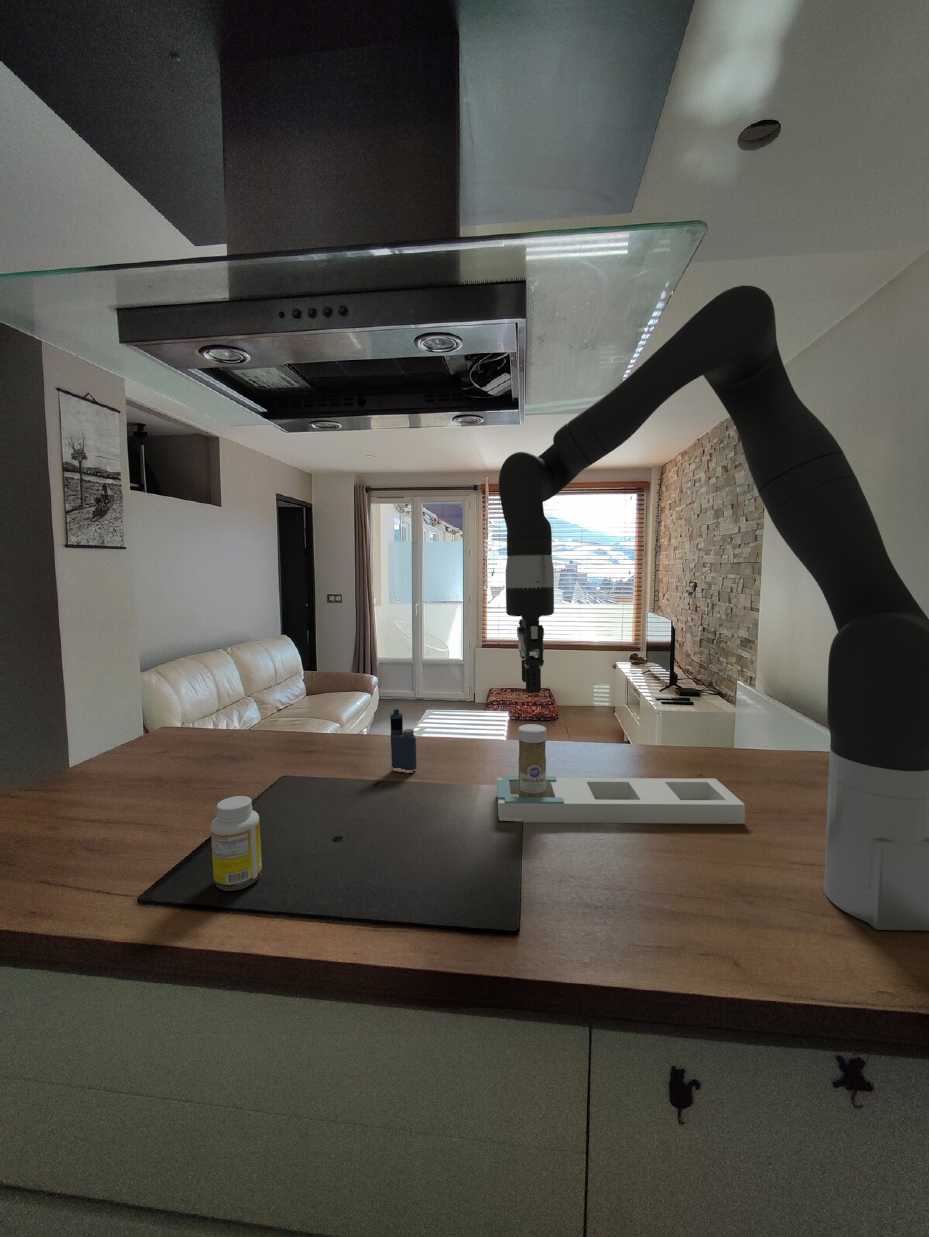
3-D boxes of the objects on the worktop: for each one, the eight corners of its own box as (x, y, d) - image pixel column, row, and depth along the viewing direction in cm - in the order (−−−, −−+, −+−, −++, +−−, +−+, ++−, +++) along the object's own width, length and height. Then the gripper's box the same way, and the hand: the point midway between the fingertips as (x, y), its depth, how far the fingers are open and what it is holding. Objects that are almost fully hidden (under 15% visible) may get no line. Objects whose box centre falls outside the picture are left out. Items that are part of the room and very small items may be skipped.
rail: (744, 823, 78) (745, 802, 77) (498, 822, 79) (498, 801, 79) (714, 795, 88) (715, 776, 87) (497, 794, 89) (496, 776, 89)
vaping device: (395, 766, 103) (394, 707, 102) (418, 770, 101) (417, 710, 100) (388, 771, 101) (387, 710, 100) (412, 774, 99) (411, 713, 98)
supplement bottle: (241, 864, 68) (237, 789, 67) (271, 875, 66) (268, 797, 65) (203, 887, 63) (199, 806, 63) (234, 899, 61) (230, 816, 60)
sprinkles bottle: (525, 816, 81) (524, 732, 80) (514, 804, 85) (513, 724, 84) (551, 812, 82) (551, 729, 81) (539, 800, 87) (538, 722, 86)
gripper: (560, 585, 74) (561, 696, 75) (548, 584, 88) (548, 678, 89) (507, 586, 74) (509, 697, 75) (504, 585, 88) (505, 678, 89)
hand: (530, 686), depth 82 cm, fingers open, 8 cm apart
